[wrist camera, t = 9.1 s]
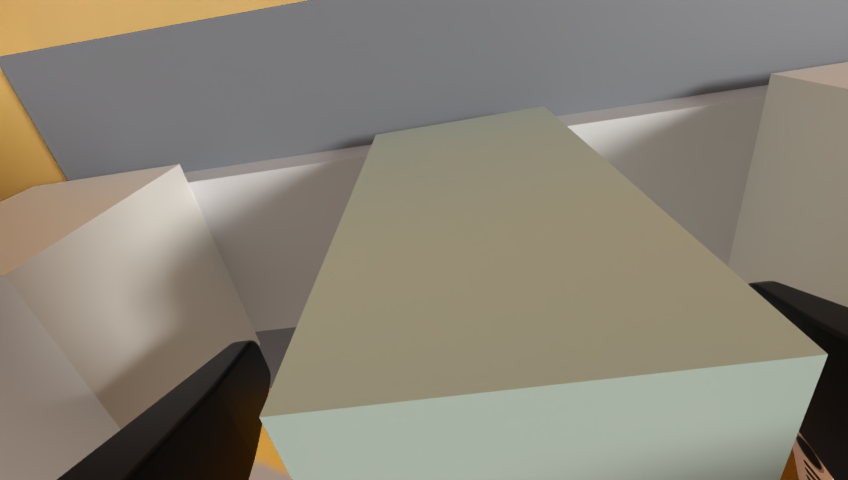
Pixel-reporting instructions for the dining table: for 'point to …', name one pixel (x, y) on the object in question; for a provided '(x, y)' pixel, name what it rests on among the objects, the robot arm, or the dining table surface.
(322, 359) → the block
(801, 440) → the computer
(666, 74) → the rail board
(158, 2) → the dining table surface
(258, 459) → the dining table surface
